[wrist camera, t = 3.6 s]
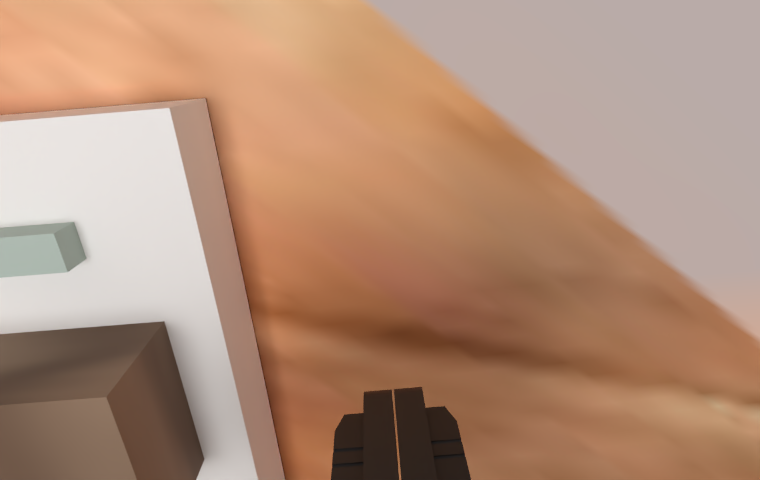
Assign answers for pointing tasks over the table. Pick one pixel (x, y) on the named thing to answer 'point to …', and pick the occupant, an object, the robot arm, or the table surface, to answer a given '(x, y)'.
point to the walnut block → (95, 406)
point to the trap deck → (138, 256)
